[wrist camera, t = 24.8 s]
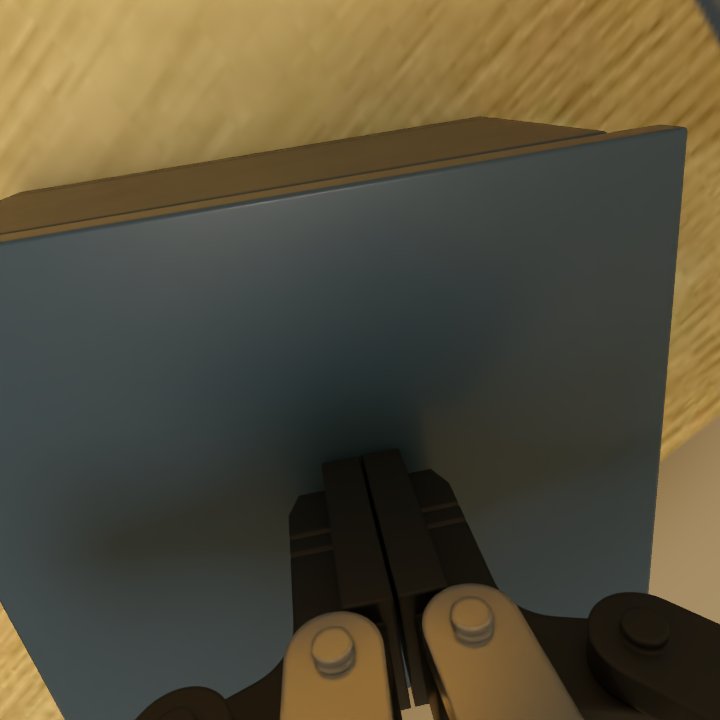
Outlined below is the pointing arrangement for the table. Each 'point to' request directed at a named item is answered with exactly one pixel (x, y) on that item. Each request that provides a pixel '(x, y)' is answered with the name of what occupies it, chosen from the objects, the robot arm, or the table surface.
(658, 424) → the lid
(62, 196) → the box
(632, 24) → the table surface
